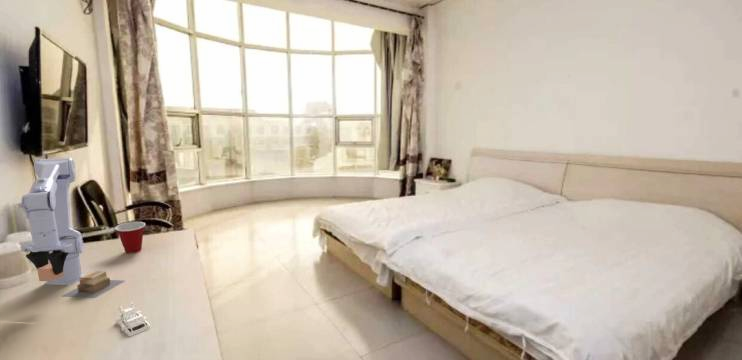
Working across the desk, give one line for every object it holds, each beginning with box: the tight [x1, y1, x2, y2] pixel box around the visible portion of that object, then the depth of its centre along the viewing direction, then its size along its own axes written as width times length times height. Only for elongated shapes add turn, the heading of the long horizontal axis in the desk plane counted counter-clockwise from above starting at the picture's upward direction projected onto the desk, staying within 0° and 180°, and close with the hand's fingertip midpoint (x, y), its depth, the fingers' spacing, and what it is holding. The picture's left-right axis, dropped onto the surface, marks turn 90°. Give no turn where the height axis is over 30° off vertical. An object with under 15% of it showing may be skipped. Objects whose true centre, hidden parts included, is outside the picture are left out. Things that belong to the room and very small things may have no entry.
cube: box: [36, 263, 64, 282], centre depth 104 cm, size 4×4×4 cm
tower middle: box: [78, 270, 108, 285], centre depth 114 cm, size 5×5×2 cm
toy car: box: [115, 301, 152, 337], centre depth 94 cm, size 6×12×4 cm, turn 51°
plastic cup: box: [114, 221, 146, 254], centre depth 147 cm, size 11×11×12 cm
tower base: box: [76, 277, 111, 293], centre depth 114 cm, size 6×6×2 cm
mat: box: [61, 279, 125, 299], centre depth 115 cm, size 12×12×1 cm
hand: (51, 273), depth 104 cm, fingers closed on cube, 4 cm apart
